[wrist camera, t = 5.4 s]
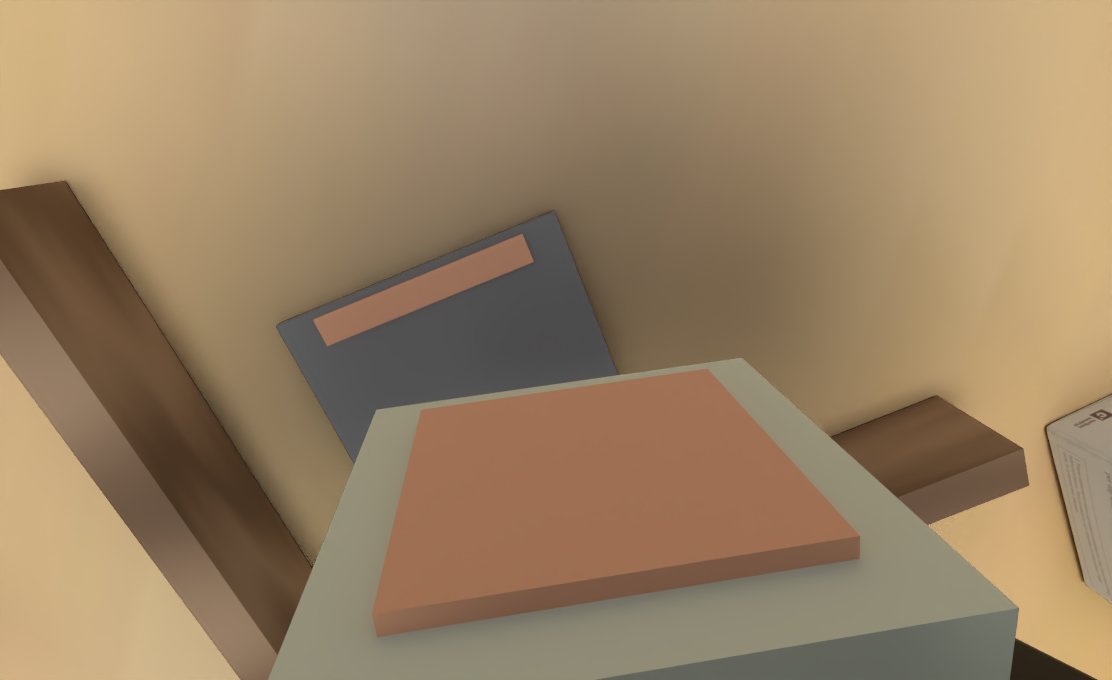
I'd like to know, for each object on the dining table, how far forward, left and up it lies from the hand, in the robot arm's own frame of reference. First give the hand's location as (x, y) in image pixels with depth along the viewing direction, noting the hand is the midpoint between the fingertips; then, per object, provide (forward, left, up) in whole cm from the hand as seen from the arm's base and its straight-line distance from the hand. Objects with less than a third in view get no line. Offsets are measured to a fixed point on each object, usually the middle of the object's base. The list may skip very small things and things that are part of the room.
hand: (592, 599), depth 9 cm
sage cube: (0, 0, -1) cm, 1 cm away
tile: (-1, +2, -11) cm, 11 cm away
